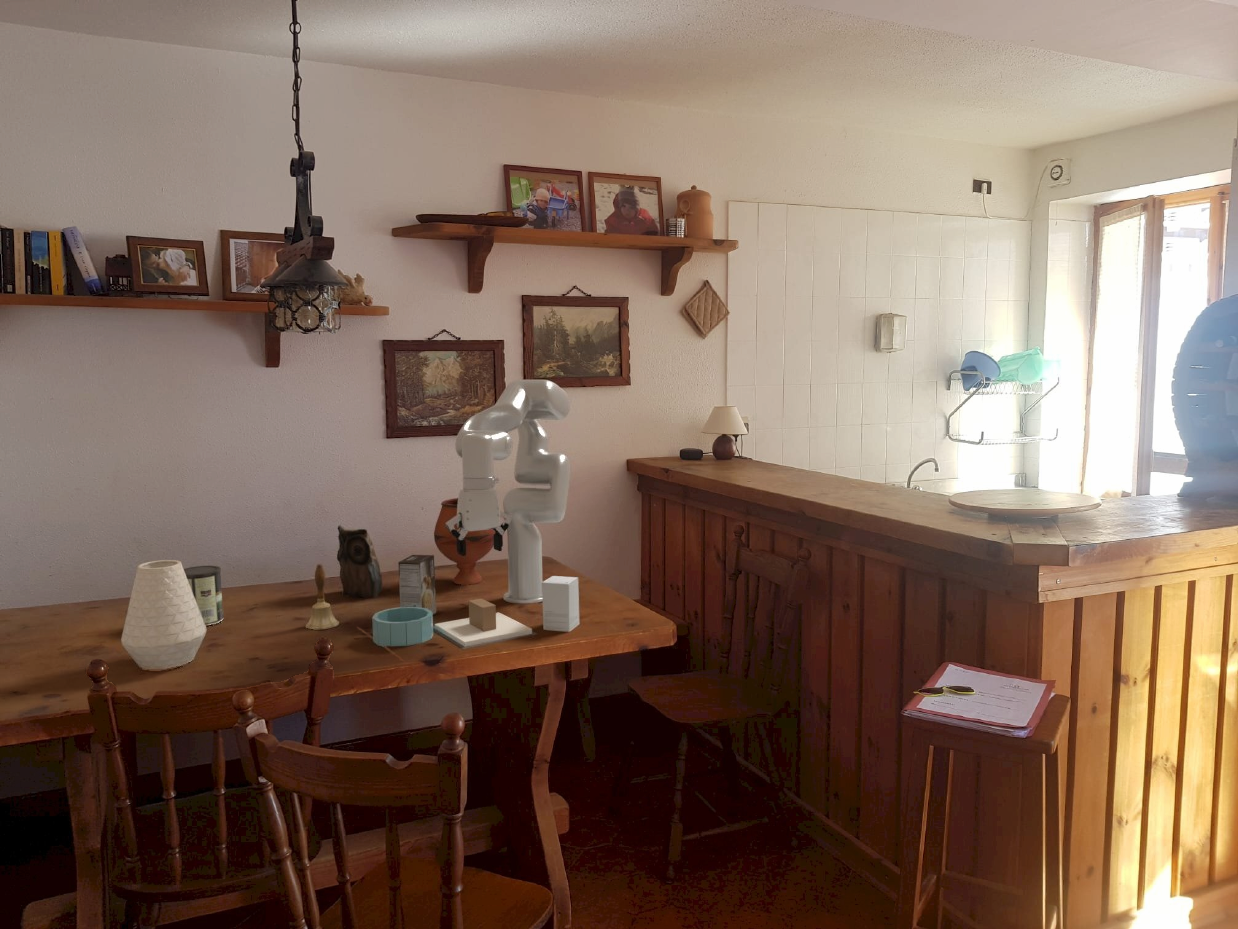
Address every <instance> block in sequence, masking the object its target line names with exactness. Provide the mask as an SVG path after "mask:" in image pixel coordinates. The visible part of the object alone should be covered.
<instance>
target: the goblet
mask: <svg viewBox="0 0 1238 929" xmlns="http://www.w3.org/2000/svg"><path fill="white" fill-rule="evenodd" d="M440 505H441V508H440V512H439V514H438V516H437V519H436V523H435V527H434V531H433V538H434V543H435V546H436V548H437V550H438V551H439V552H440V553H441V554H442V555H443V556H444V557H445V558H447V560H449V561H452V562H453V563H456V566H455V567H456V568H458V570H459V571H458V573H457V574H456V575H455V577H454V578H453V580H452V582H453V583H454V584H457V585H460V584H461V585H462V586H465V585H467V586H469V584H471V585H475V584H478V583H479V584H480V583H481V582H482V581H483V579H482V576H481V575H480V573H478V572H477V571H476V569H475V567H476V566H477V563H476V562H478V561H479V560H481V559H483V558H484V557H485V556H486V555H488V553H490V552H491V550H492V549H494V537H493V535H494V534H495V531H494V530H493V529H487V530H479V531H468V533H467V534H466V536H465V537H464V540H466V555H465V556H461V555H459V554H458V552H457V540H456V538H455V537H454V536H453V535H452V534H451V533H450V532H449V530H448V528H447V526H446V522H448V521H449V520H451V519H452V518H454V517H455V516H457V505H458V497H455V498H449V499H446V500H445V499H444V500H443V501H442V502H441V503H440ZM454 528H455V530H456V531H458V529H459V528H458V527H457V523H456V524H455V525H454Z"/></svg>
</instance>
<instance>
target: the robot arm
mask: <svg viewBox="0 0 1238 929" xmlns="http://www.w3.org/2000/svg"><path fill="white" fill-rule="evenodd" d="M570 409H571V401H570V397H569V395H568V393H567V392H566V390H564V389H563V388H562V387H560V386H559V385H558V384H557V383H556V382H553V381H551V380H549V379H516V380H513V381H511V382H509V383H508V384H507V385H506V387H505V388H504V390H503V391H502V393H501V395H500V396H499V398H498V399H497V401H496V403H495V404H494V405H492V406H491V407H488V408H486V409H483V410H482V411H480V412H478V413H476V414H475V415H472V416H471V417H469V418H467V420H466V421H465V422H464V424H463V425H462V426H461V428H460V430H459V431H458V433H457V435H456V438H455V443H454V444H455V445H454V446H455V447H454V449H455V452H456V454H457V455H458V457H460V458H461V460H462V463H461V464H462V489H460V490H459V493H458V497H457V498H458V505H457V516H455V517H454V518H452V519H451V520H449V521H448V522H446V526H447V528H448V530H449V532H450V533H451V534H452V535H453V536H454V537H455V538H456V540H457V552H458V554H459V555H461V556H465V555H466V540H464V537H465V536H466V534H467V533H468V531H479V530H487V529H493V530H494V531H495V534H494V535H493V537H494V546H493V550H495V551H497V552H502V550H503V545H504V539H503V535H505V532H506V533H507V566H508V567H507V573H508V591H506V592H505V593H504V594H503V595H502V596H503V601H505V602H508V603H510V604H511V603H512V604H522V605H523V604H535V603H543V600H542V582H544V581H545V580H543V551H542V550H543V549H542V547H543V546H542V545H543V544H542V543H543V542H542V535H541V532H540V531H539V529H538V527H537V526H536V525H535V523H540V524H542V523H543V524H544V523H545V524H546V523H547V524H556V523H559V522H561V521H563V519H564V518H565V514H566V511H567V505H568V504H567V502H568V498H569V497H568V496H569V488H570V482H571V463H570V460H569V457H568V456H567V455H565V454H563V453H561V452H548V447H549V442H550V441H549V436H548V434H547V432H546V431H545V429H544V428H543V426H542V425H541V424H540V423H539V422H538V420H539V421H543V420H546V421H561V420H564V419H566V418H567V417H568V415H569V413H570ZM515 430H517V432H518V444H517V451H516V456H515V457H516V458H515V464H514V472H513V473H514V480H515V481H516V482H517V483H518V484H520V485H524V486H532V487H515V488H511V489H510V490H508V491H507V492H506V493H505V495H504V496H503V500H502V501H503V502H502V508H503V511H501V507H500V500H499V495H498V491H497V488H495V485H496V484H498V483H499V478H498V477H495V476H494V473H495V472H494V461H504V460H506V459H507V458H508V457H510V456H511V454H512V452H513V449H514V441H513V438H512V437H511V435H510V434H509V433H508V432H512V431H515ZM533 486H535V487H533ZM537 487H539V488H537ZM540 487H549V488H540ZM501 518H502V519H503V522H502V523H501ZM456 523H457V527H458V528H459V529H458V531H456V530H455V528H454V525H455V524H456Z"/></svg>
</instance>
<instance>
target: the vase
mask: <svg viewBox="0 0 1238 929" xmlns="http://www.w3.org/2000/svg"><path fill="white" fill-rule="evenodd" d="M184 569H185V568H184V567H183V564H182V561H180V560H176V559H162V560H153V561H148V562H147V561H146V562H144V563H141V564H139V565H137V568H136V571H135V572H136V574H135V578H134V581H133V587H132V590H131V595H130V599H129V603H128V607H127V612H126V616H125V617H126V618H125V621H124V626H123V631H122V634H121V639H120V641H121V644H122V646H123V647H124V649H125V650H126V652H127V653H128V654H129V655H130V656H131V658H132V659H133V660H134V662H135V664H136V665H137V666H138V667H139V668H140V667H142V668H145V669H167V668H171V667H176V666H181V665H183V664H186V663H188V662H191V661H192V660H193V661H194V659H195V656H196V655H197V653H198V650H199V648H200V647H201V644H202V643H203V641H204V638H205V637H206V634H207V630H208V629H207V627H206V626H205V623H204V621H203V618H202V616H201V613H200V610H199V608H198V605H197V603H196V600H195V597H194V595H193V592H192V590H191V587H190V584H189V582H188V579H187V577H186V574H185V572H184ZM193 661H192V662H193ZM192 662H191V663H192Z"/></svg>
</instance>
